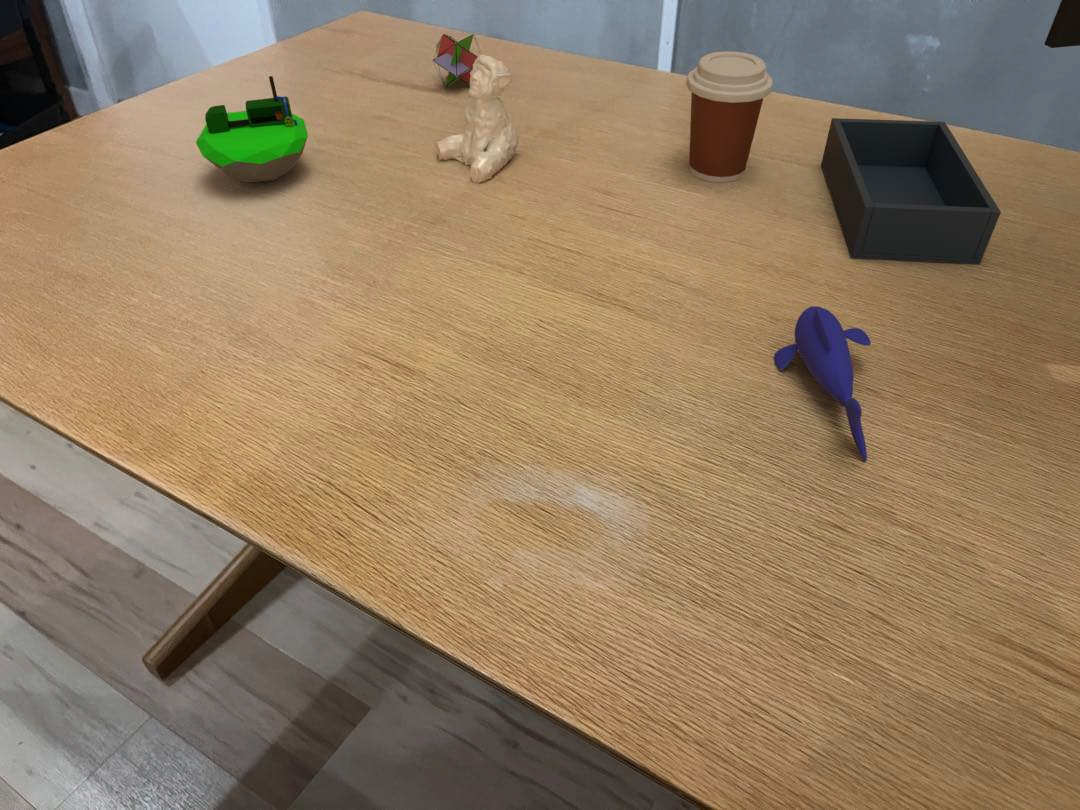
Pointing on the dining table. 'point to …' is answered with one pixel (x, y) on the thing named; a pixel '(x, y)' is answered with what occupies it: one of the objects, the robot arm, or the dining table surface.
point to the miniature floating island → (254, 139)
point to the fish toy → (828, 361)
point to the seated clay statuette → (484, 123)
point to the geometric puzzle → (455, 58)
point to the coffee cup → (725, 113)
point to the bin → (906, 192)
